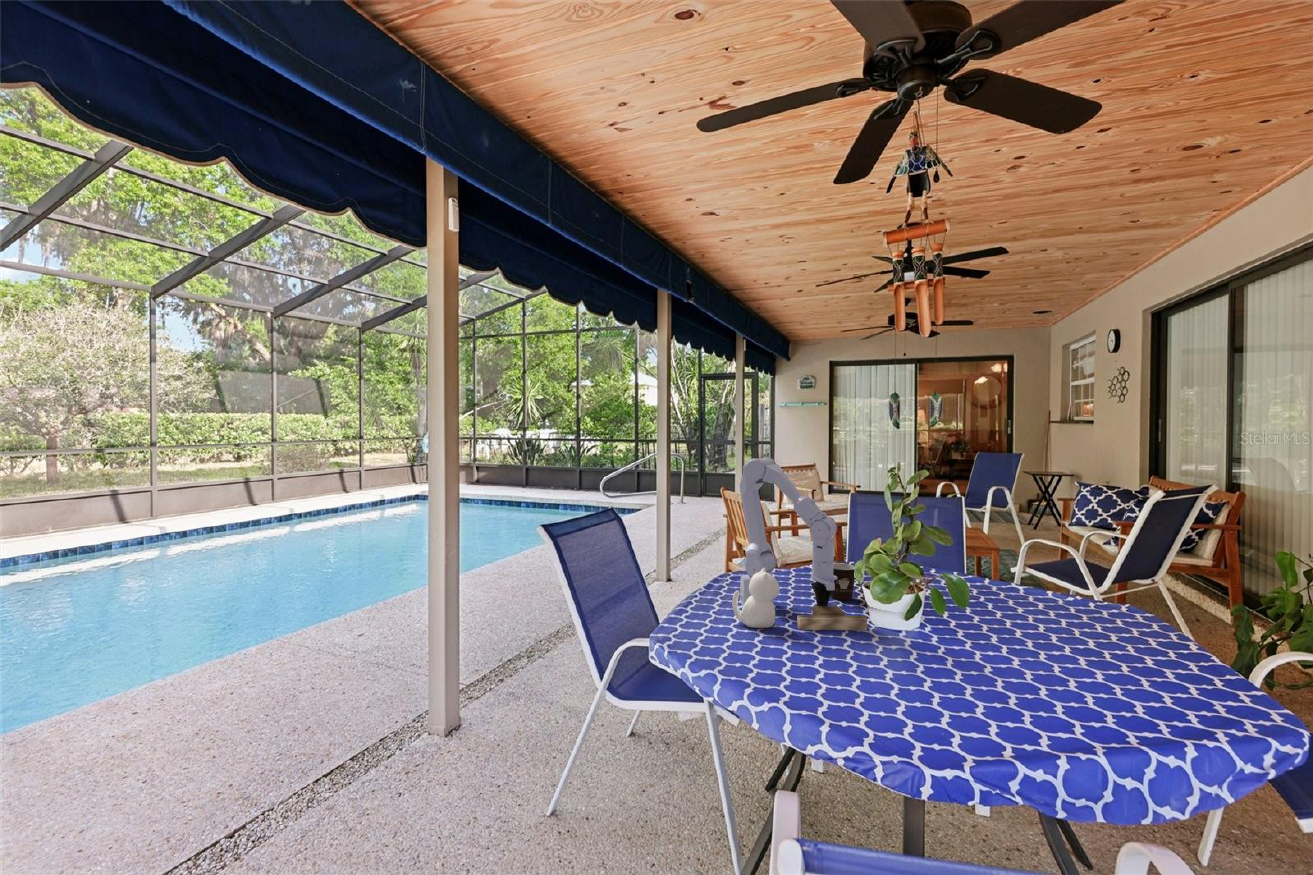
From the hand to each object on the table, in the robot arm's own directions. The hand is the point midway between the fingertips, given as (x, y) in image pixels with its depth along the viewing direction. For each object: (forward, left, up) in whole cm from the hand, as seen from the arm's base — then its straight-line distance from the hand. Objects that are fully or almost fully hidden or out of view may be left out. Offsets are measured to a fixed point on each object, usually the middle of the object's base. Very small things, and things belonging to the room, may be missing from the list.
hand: (822, 609), depth 165 cm
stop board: (0, -8, -2) cm, 9 cm away
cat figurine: (-20, -6, -3) cm, 21 cm away
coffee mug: (+11, +20, -3) cm, 23 cm away
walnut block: (0, -4, -3) cm, 5 cm away
